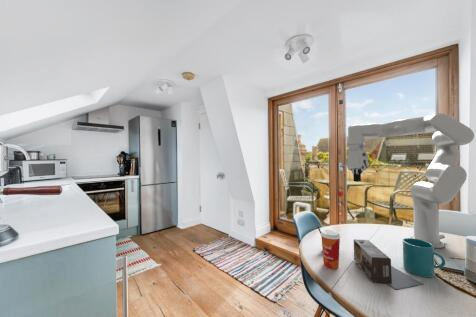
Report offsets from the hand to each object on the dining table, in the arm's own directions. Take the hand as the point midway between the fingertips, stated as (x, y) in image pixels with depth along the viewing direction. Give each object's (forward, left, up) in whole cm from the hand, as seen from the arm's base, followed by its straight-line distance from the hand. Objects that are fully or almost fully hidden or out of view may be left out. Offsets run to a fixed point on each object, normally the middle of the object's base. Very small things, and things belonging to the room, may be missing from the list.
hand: (357, 181), depth 107 cm
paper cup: (+31, +18, -32) cm, 48 cm away
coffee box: (+16, +18, -27) cm, 36 cm away
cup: (0, +31, -32) cm, 45 cm away
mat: (+14, +28, -32) cm, 45 cm away
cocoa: (+24, +7, -32) cm, 41 cm away
